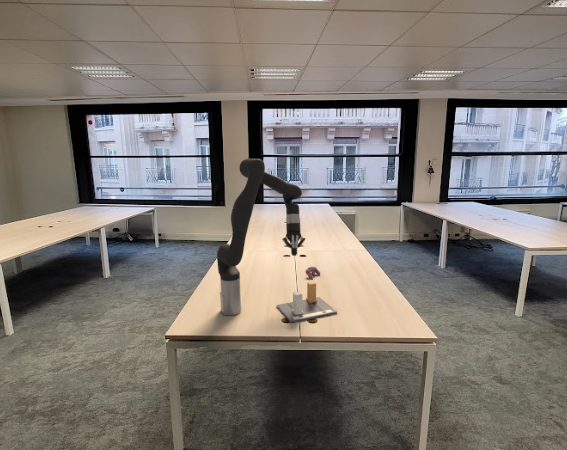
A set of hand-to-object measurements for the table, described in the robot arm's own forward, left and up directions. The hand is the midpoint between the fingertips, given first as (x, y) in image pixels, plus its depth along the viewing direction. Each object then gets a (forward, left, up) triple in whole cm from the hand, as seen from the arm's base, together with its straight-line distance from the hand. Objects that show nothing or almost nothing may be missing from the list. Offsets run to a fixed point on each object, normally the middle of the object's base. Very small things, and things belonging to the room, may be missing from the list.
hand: (294, 255), depth 173 cm
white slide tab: (-8, -22, -21) cm, 31 cm away
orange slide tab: (+4, -13, -21) cm, 25 cm away
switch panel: (-2, -19, -22) cm, 29 cm away
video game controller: (+23, +22, -23) cm, 39 cm away
